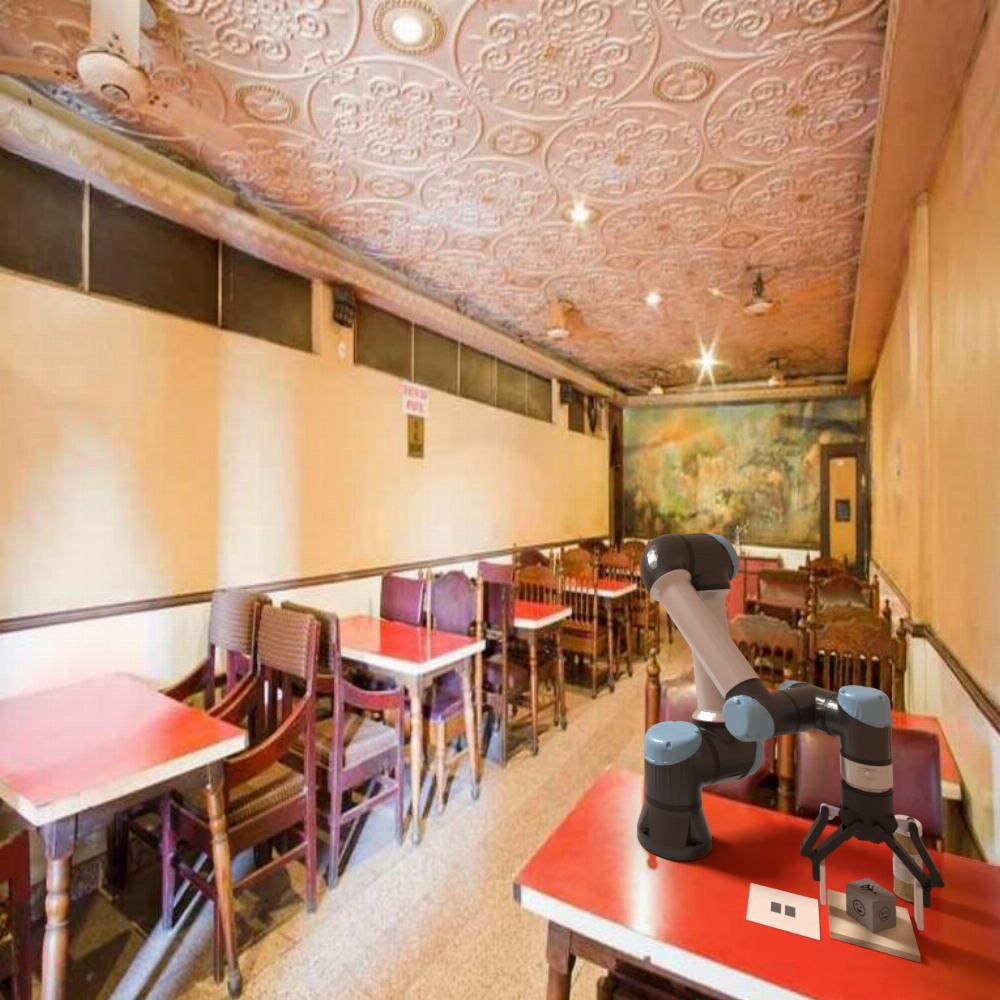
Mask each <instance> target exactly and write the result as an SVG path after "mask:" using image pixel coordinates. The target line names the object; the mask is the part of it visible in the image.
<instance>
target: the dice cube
mask: <svg viewBox="0 0 1000 1000" xmlns="http://www.w3.org/2000/svg"><path fill="white" fill-rule="evenodd" d="M845 894H846V914H848V915H849V916H850V917H852V918H853V919H854V920H856V921H857V922H858V923H860V924H861V925H862V926H864V927H865V928H866V929H868V930H869V931H870V932H872V933H877V932H880V931H884V930H887V929H891V928H894V927H897V925H896V906H897V897H896V896H897V895H896V894H895V893H893V892H891V891H889V890H887V888H885V887H883V886H882V885H880V884H879V883H877V882H876V881H875V880H873V879H871V878H870V877H866V878H861V879H857V880H854V881H851V882H846V883H845Z"/></svg>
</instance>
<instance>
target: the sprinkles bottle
mask: <svg viewBox="0 0 1000 1000" xmlns="http://www.w3.org/2000/svg"><path fill="white" fill-rule="evenodd" d="M894 816H895V818H896V819H905V820H907V818H908V817H910V816H908V815H904V814H894ZM914 820H915V822H916V824H917V827H918V832H919V836H920V838H921V839H922V837H923V825H922V823H921V822H920V821H919V820H918V819H916V818H914ZM893 835H894V836H895V838H896V839H897V841H898V842H899V843H900V844H901V845H902V847H903V848H904V849H905V850H906V851H907V852H908V854H909V855H910V856H911V857H912V858H913V859H914V861H915V862H916V863H917V864H918V865H919V867H920V868H921V869H922V870H923V860H922V859H921V857H920V855H919V853H918V851H917V850H916V848H915V846H914V844H913V842H912V840H911V837H910V835H906V834H905V833H904V832H903V830H902V829H901V828H897V830H896V831H895V832H894V833H893ZM923 871H924V870H923ZM892 873H893V887H892V888H893V892H894V893H893V894H894V895H895V896H897V897H898V898H899V899H902V900H903V901H905V902H908V903H914V879H916V878H915V877H914V876H913V874H912V873H911V872H910V871H909V870H908V868H907V867H906V866H905V865H904V864H903V863H902V861H901V860H900V859H899V858H898V857H897V855H896V854H895V853H894V852H893V851H892Z"/></svg>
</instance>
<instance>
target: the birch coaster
mask: <svg viewBox="0 0 1000 1000" xmlns="http://www.w3.org/2000/svg"><path fill="white" fill-rule="evenodd" d="M826 899H827V900H826V902H827V912H828V913H829V914H828V924H829V926H828V927H829V937H830V939H834V940H837V941H841V942H845V943H848V944H852V945H856V946H859V947H862V948H865V949H869V950H873V951H877V952H881V953H884V954H889V955H891V956H895V957H899V958H902V959H907V960H909V961H914V962H917V963H921V961H922V960H921V954H920V953H921V952H920V950H919V947H918V942H917V940H916V935H915V932H914V928H913V925H912V924H913V923H912V921H911V918H910V915H909V911H908V908H905V907H901V906H897V905H896V925H897V927H894V928H891V929H887V930H884V931H880V932H877V933H872V932H870V931H869V930H868V929H866V928H865V927H864V926H862V925H861V924H860V923H858V922H857V921H856V920H854V919H853V918H852V917H850V916H849V915H848V914H846V892H840V891H836V890H832V889H829V888H828V889H826Z"/></svg>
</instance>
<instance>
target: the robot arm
mask: <svg viewBox="0 0 1000 1000" xmlns="http://www.w3.org/2000/svg"><path fill="white" fill-rule="evenodd" d="M739 567H740V561H739V556H738V553H737V550H736V549H735V547H734V546H733V544H732V542H731V541H729V540H728V539H727V538H726V537H724V536H722V535H720V534H717V533H708V532H703V533H702V532H701V533H681V534H679V533H678V534H677V533H675V534H674V533H671V534H670V533H668V534H667V533H666V534H663V535H658V536H657V537H655V538H653V539H652V540H651V541H650V542H648V543H647V545H646V547H645V548H644V549H643V551H642V552H641V556H640V561H639V571H640V577H641V579H642V580H641V581H642V583H643V586H644V587H645V589H646V591H647V592H648V594H649V596H650V597H651V599H652V600H653V601H655V602H660V604H661V605H662V607H663V608H664V610H665V611H666V612H667V615H669V618H670V619H671V621H672V622H673V623H674V625H675V626H676V627H677V630H678V631H679V632H680V634H681V636H682V637H683V638H684V640H685V641H686V643H687V645H688V646H689V647H690V649H691V656H692V667H693V674H694V685H695V691H696V692H695V693H696V701H697V708H696V710H694V712H693V713H692V715H691V719H692V723H691V722H689V721H684V720H683V721H682V720H676V721H673V720H666V721H661V722H658V723H656V724H653V725H652V726H651V727H649V728H648V729H647V731H646V732H645V734H644V742H643V743H644V745H643V750H642V753H643V756H644V758H643V759H644V762H643V764H644V767H643V768H644V801H643V804H642V806H641V807H642V808H641V810H640V813H639V817H638V820H637V824H636V837H637V840H638V842H639V844H640V845H641V846H642V847H643V848H644V849H646V850H647V852H650V853H652V854H654V855H656V856H658V857H662V858H664V859H667V860H673V861H694V860H698V859H703V858H704V857H706V856H707V855H708V854H709V853H711V851H712V848H713V841H712V839H713V838H712V837H713V836H712V832H711V828H710V826H709V823H708V820H707V817H706V814H705V811H704V808H703V788H704V787H708V786H714V785H718V784H723V783H726V782H731V781H739V780H741V781H742V779H744V778H748V777H750V776H752V775H755V773H757V771H758V770H759V769H760V768H761V765H762V763H763V762H764V761H763V760H764V752H765V751H764V744H763V742H765V741H767V740H770V739H774V738H778V737H782V736H787V735H795V734H800V733H804V732H805V733H806V732H808V731H809V732H810V731H816V732H819V733H822V734H825V735H828V736H830V737H833V738H837V739H839V740H838V741H839V765H840V766H839V768H840V769H839V771H840V772H839V773H840V777H841V778H842V779H840V805H839V807H837V806H833V805H829V804H828V802H827V801H825V800H822V801H820V805H819V813H818V814H817V817H816V818H815V820H814V822H813V823H812V824H811V827H810V828H809V830H808V831H807V833H806V835H805V836H804V838H803V839H802V842H801V843H800V845H799V849H800V850H799V853H800V855H801V856H802V857H803V858H807V859H809V860H810V861H811V868H812V869H811V871H812V873H811V874H812V875H811V876H812V879H813V881H815V882H818V883H819V897H820V905H822V906H826V905H827V903H826V902H827V900H826V899H827V890H826V864H825V860H826V858H827V857H829V856H830V855H831V854H832V853H833V852H834V851H836V850H837V849H838V848H839V847H840V846H842V845H843V844H844V843H845V842H847V841H848V842H849V840H851V839H852V838H853V837H854V838H855V839H857V841H861V842H869V843H873V844H876V845H880V844H883V843H885V845H886V846H887V848H888V849H889V850H891V851H892V853H893V852H894V853H895V854H896V855H897V857H898V858H899V859H900V860H901V861H902V863H903V864H904V865H905V866H906V867H907V868H908V870H909V871H910V872H911V873H912V874H913V876H914V877H915V878H916V879H914V921H915V924H916V928H917V930H919V931H924V930H925V929H924V908H927V909H930V908H931V906H932V894H931V893H932V890H933V888H936V887H938V888H940V889H944V887H946V884H945V882H944V879H943V876H942V875H941V872H940V871H939V869H938V867H937V865H936V863H935V861H934V860H933V858H932V856H931V855H930V853H929V851H928V849H927V847H926V845H925V843H924V842H923V840H922V837H921V838H920V836H919V832H918V827H917V824H916V822H915V820H914V819H915V818H914V817H913V816H909V817H908V818H907V820H905V819H896V818H895V816H894V815H895V803H894V801H895V800H894V799H895V798H894V790H893V789H892V788H893V786H894V775H893V754H892V753H893V752H892V749H893V748H892V746H893V745H892V744H893V743H892V742H893V741H892V737H893V736H892V731H893V722H894V721H893V717H892V709H891V700H890V698H889V696H888V695H887V694H886V693H885V692H884V691H882V690H879V689H877V688H874V687H869V686H868V687H867V686H863V685H857V684H856V685H851V684H850V685H844V686H842V687H841V688H840V689H839V690H838V692H836V691H832V690H830V689H826V688H823V687H819V686H817V685H813V684H811V683H808V682H806V681H797V680H786V681H784V682H783V683H782V684H781V685H780V686H779V687H778V688H777V690H775V689H774V690H772V691H770V690H769V689H768V687H767V685H766V684H765V683H764V682H763V681H762V679H761V678H760V676H759V675H758V674H757V672H756V671H755V670H754V667H752V665H751V664H750V663H749V661H748V660H747V659H746V657H745V655H744V654H743V653H742V652H741V650H740V649H739V648H738V646H737V645H736V643H735V642H734V641H733V639H732V638H731V636H730V631H729V630H730V628H729V621H728V614H727V613H728V611H727V604H726V597H727V596H728V595H729V593H730V592H731V591H732V589H731V582H732V581H733V580H734V579H735V578H736V576H737V573H738V572H739ZM836 816H837V817H838V818H839V819H840V820H841V824H839V825H838V827H837V829H835V830H834V831H833V832H832V833H831V834H830V835H829V836H827V837H826V838H824V840H822V841H821V842H820V843H819V844H818V845H817V846H815V845H816V843H817V842H818V840H819V839H820V836H821V835H822V833H824V830H825V829H826V827H827V825H828V822H829V821H833V819H834V818H835V817H836ZM897 828H901V829H902V830H903V832H904V833H905V834H906V835H910V837H911V840H912V842H913V844H914V846H915V848H916V850H917V851H918V853H919V855H920V857H921V859H922V863H924V865H925V867H926V870H927V871H928V874H927V873H926V872H925V871H924V870H922V869H921V868H920V867H919V865H918V864H917V863H916V862H915V861H914V859H913V858H912V857H911V856H910V855H909V854H908V852H907V851H906V850H905V849H904V848H903V847H902V845H901V844H900V843H899V842H898V841H897V839H896V838H895V836H894V835H893V833H894V832H895V831H896V830H897Z"/></svg>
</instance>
